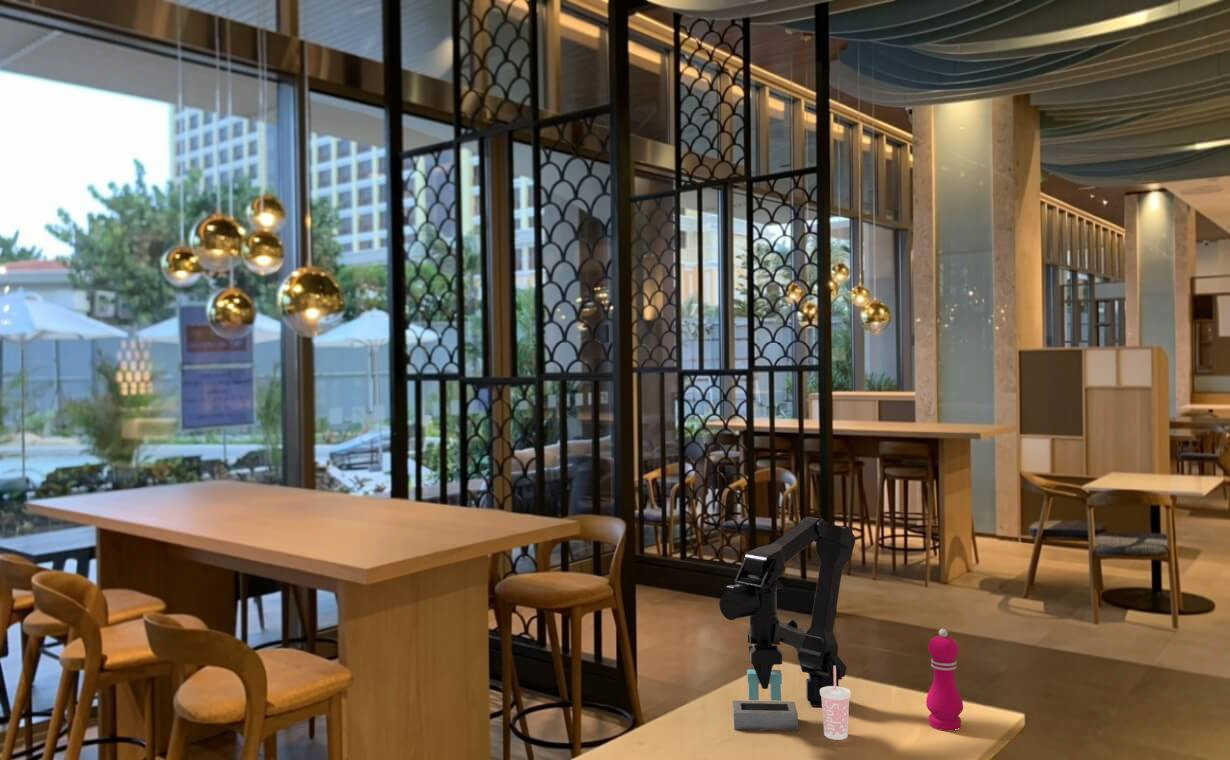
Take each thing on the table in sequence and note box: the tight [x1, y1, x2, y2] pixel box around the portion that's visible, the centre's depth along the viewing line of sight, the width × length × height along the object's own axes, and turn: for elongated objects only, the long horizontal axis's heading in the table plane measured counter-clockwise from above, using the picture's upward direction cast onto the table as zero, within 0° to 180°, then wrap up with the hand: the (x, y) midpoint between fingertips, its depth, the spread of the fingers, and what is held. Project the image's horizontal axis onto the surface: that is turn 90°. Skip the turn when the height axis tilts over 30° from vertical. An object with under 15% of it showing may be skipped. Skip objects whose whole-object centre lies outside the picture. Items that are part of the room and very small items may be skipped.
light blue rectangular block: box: [746, 669, 783, 701], centre depth 191 cm, size 7×3×6 cm, turn 84°
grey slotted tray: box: [732, 700, 799, 732], centre depth 191 cm, size 13×7×4 cm, turn 84°
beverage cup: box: [820, 666, 851, 741], centre depth 184 cm, size 6×6×14 cm
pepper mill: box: [925, 628, 964, 731], centre depth 188 cm, size 7×7×20 cm
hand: (764, 686), depth 191 cm, fingers closed on light blue rectangular block, 3 cm apart
